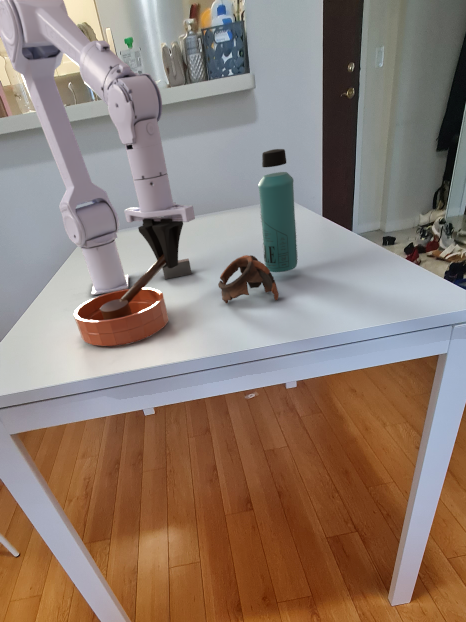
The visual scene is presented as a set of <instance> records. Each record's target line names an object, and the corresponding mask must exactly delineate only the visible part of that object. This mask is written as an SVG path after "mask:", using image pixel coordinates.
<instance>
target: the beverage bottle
mask: <svg viewBox="0 0 466 622" xmlns="http://www.w3.org/2000/svg"><path fill="white" fill-rule="evenodd" d="M261 155H262V157H261V158H262V159H261V161H262V162H261V165H262V166H261V167H262V168H275V167H279V166H283V165H286V164H287V156H286V150H285V149H284V148H274V149H269V150H266V151H264V152H262V154H261ZM294 183H295V182H294V178H293V176H292V175H291V174H290V173H288V172H287V171H279V172H272V173H268V174H265V175H263V176H262V177H261V179H260V181H259V182H258V185H257V187H258V193H259V204H260V206H259V207H260V219H261V220H260V221H261V232H262V241H263V243H262V245H263V251H262V252H263V260H264V263H263V264H264V265H265V266H266V267H267V268H268V269H269V270H270V272H271V273H283V272H288V271H291V270H293V269H295V268H296V267H297V266H298V261H299V260H298V247H297V236H298V235H297V228H296V227H297V226H296V215H295V214H296V213H295V211H296V210H295V194H294V192H295V191H294V189H295V188H294Z"/></svg>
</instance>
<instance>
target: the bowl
mask: <svg viewBox="0 0 466 622" xmlns="http://www.w3.org/2000/svg"><path fill="white" fill-rule="evenodd" d="M129 289H130V288H127V289H122V290H117V291H112V292H107V293H103V294H100V295H98V296H96V297H93V298H91V299H89V300H87V301H85V302H83V303H82V304H80V305H79V306H78V307H77V308H76V309H74V312H73V318H74V320H75V321H74V322H75V323H76V326H77V328H78V331H79V334H80V337H81V339H82V340H83V341H84V343H87V344H90V345H92V346H100V347H119V346H123V345H130V344H133V343H136V342H140V341H142V340H145V339H147V338H149V337H151V336H153V335H155V334H156V333H158V332H159V331H160V330H162V329H163V328H164V327H165V326H166V325H167V324H168V322H169V313H168V309H167V306H166V300H165V297H164V293H163V292H162V291H161V290H159V289H155V288H152V287H144V288H143V289H142V290H141V291H140V292H139V293H138V294H137V295H136V296H135V297H134V298H133V299H132V300H131V301H130V302H129V306H130V309H131V312H132V315H128V316H125V317H121V318H116V319H111V320H104V318H103V315H102V313H101V310H100V308H101V306H102V305H104V304H105V303H107V302H110V301H113V300H117V299H121V297H122V296H123V295H124V294H125V293H126V292H127V291H128V290H129Z"/></svg>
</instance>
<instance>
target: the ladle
mask: <svg viewBox="0 0 466 622" xmlns="http://www.w3.org/2000/svg"><path fill="white" fill-rule="evenodd" d="M165 264H166V261H165V257H164V254H163V255H162V256H161V257H160V258H159V259H158V260H157V259H156V261H155V262H154V263H153V264H152V265H151V266H150V267H149V269H147V271H145V272H144V273H143V274H142V275H141V277H139V279H138V280H137V281H136V282H135V283H134V284H133V285H132V286H131V287H130V288H128V289H129V290H128V291H127V292H126V293H125V294H124V295H123V296H122V297H121V299H117V300H113V301H110V302H107V303H105V304H104V305H102V306H101V308H100V310H101V313H102V315H103V318H104V320H111V319H116V318H121V317H125V316H128V315H132V312H131V309H130V306H129V302H130V301H131V300H132V299H133V298H134V297H135V296H136V295H137V294H138V293H139V292H140V291H141V290H142V289H143V288H145V287H146V286H147V284H149V282H151V280H152V279H153V278H154V277H155V276H156V275H158V273H159V272H160V271H161V270H163V269H162V268H163V266H164V265H165Z"/></svg>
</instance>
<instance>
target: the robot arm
mask: <svg viewBox="0 0 466 622" xmlns="http://www.w3.org/2000/svg"><path fill="white" fill-rule="evenodd" d="M0 39H1V42H2V44H3V47H4V50H5V52H6V54H7V57H8V60H9V61H10V64H11V66H12V69H13V70H14V71H16V72H17V73H19V74H20V75H21V78H22V80H23V83H24V85H25V89H26V90H27V91H26V92H27V93H28V96H29V99H30V100H31V103H32V105H33V108H34V111H35V114H36V116H37V118H38V122H39V124H40V126H41V129H42V131H43V135H44V136H45V139H46V142H47V145H48V147H49V149H50V152H51V155H52V157H53V159H54V162H55V163H56V167H57V169H58V172H59V174H60V177H61V180H62V182H63V184H64V188H65V192H64V194H63V196H62V198H61V200H60V202H59V206H58V209H59V211H60V214H61V218H62V224H63V227H64V230H65V233H66V235H67V237H68V238H69V240H70V241H71V242H72V243H73V244H75V246H76V247H78V248H80V249H81V252H82V255H83V259H84V261H85V265H86V268H87V271H88V274H89V277H90V279H91V283H92V289H91V293H90V294H91V296H96V295H103V294H107V293H111V292H114V291H119V290H125V289H129V286H130V285H129V284H130V275H129V274H125V271H124V268H123V264H122V260H121V257H120V253H119V250H118V246H117V243H116V240H117V239H118V233H119V231H120V218H119V216H118V215H119V214H118V213H117V210H116V208H115V207H114V206H113V204H112V202H111V200H110V198H109V196H108V193H107V191H106V190H104V189H103V188H102V187H100V186H98V185H97V184H95V183H93V182H92V179H91V177H90V174H89V170H88V168H87V165H86V162H85V160H84V157H83V154H82V151H81V149H80V146H79V144H78V140H77V138H76V134H75V132H74V129H73V127H72V124H71V122H70V118H69V116H68V113H67V110H66V108H65V105H64V102H63V98H62V96H61V93H60V91H59V88H58V86H57V83H56V80H55V71H56V69H58V68H59V67H60V66H61V64H62V61H63V57H64V55H65V56H66V57H67V58H68V59H69V60H71V61H72V62H73V63H74V64H75V65H77V66H78V67H79V68H78V69H79V74H80V77H81V79H82V81H83V82H84V84H85V85H86V86H87V87H89V88H90V90H91V91H92V92H93V93H94V94H95V95H96V96H97V97H99V99H100V100H102V102H103V103H105V105H106V106H107V112H108V114H109V117H110V119H111V122H112V124H113V125H114V127H115V128H116V130H117V133H118V138H119V141H120V142H121V144H122V145H124V147H125V151H126V156H127V160H128V164H129V169H130V173H131V177H132V182H133V185H134V191H135V194H136V198H137V203H138V206H135V207H133V206H132V207H128V208H126V209H124V210H123V212H124V216H125V221H126V223H134V222H142V225H140V226H138V227H137V229H138V232H139V234H140V235H141V236H142V237H143V238H144V240H145V241H146V242H147V244H148V245H149V247H150V249H151V251H152V253H153V254H154V256H155V258H156V261H157V260H158V259H159V258H160V257H161V256H162V255H163V254H164V257H165V261H166V264H165V265H164V266H163V268H164V267H166V266H168V268H173V267H175V266H177V265H178V260H179V245H180V238H181V233H182V229H183V227H184V223H189V222H191V221H193V220H195V219H196V216H195V211H194V206H193V205H184V204H178V203H176V202H174V200H173V195H172V190H171V185H170V180H169V175H168V170H167V169H168V168H167V164H166V160H165V154H164V148H163V143H162V138H161V137H162V136H161V132H160V127H159V122H160V120H161V118H162V114H163V100H162V94H161V90H160V89H159V86H158V84H157V82H156V81H155V79H153V77H152V75H151V74H150V73H148V72H143V73H138V72H134V71H133V70H132V69H131V66H129V64H127V62H124V61H122V59H121V58H120V57H119V56H118V55H117V54H116V53H114V52H113V51H112V50H111V45H110V44H109V43H108V42H107V41H106V40H105V39H104V40H92V41H91V40H90V39H89V38H88V36H87V35H85V33H84V32H83V31H82V30H81V29H80V28H79V26H78V25H77V24H76V23H75V22H74V20H73V19H71V17H70V16H69V14H68V10H67V6H66V3H65V1H64V0H0ZM88 203H91V204H88ZM84 204H87V205H84ZM79 205H83V206H80V207H77V206H79Z"/></svg>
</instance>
